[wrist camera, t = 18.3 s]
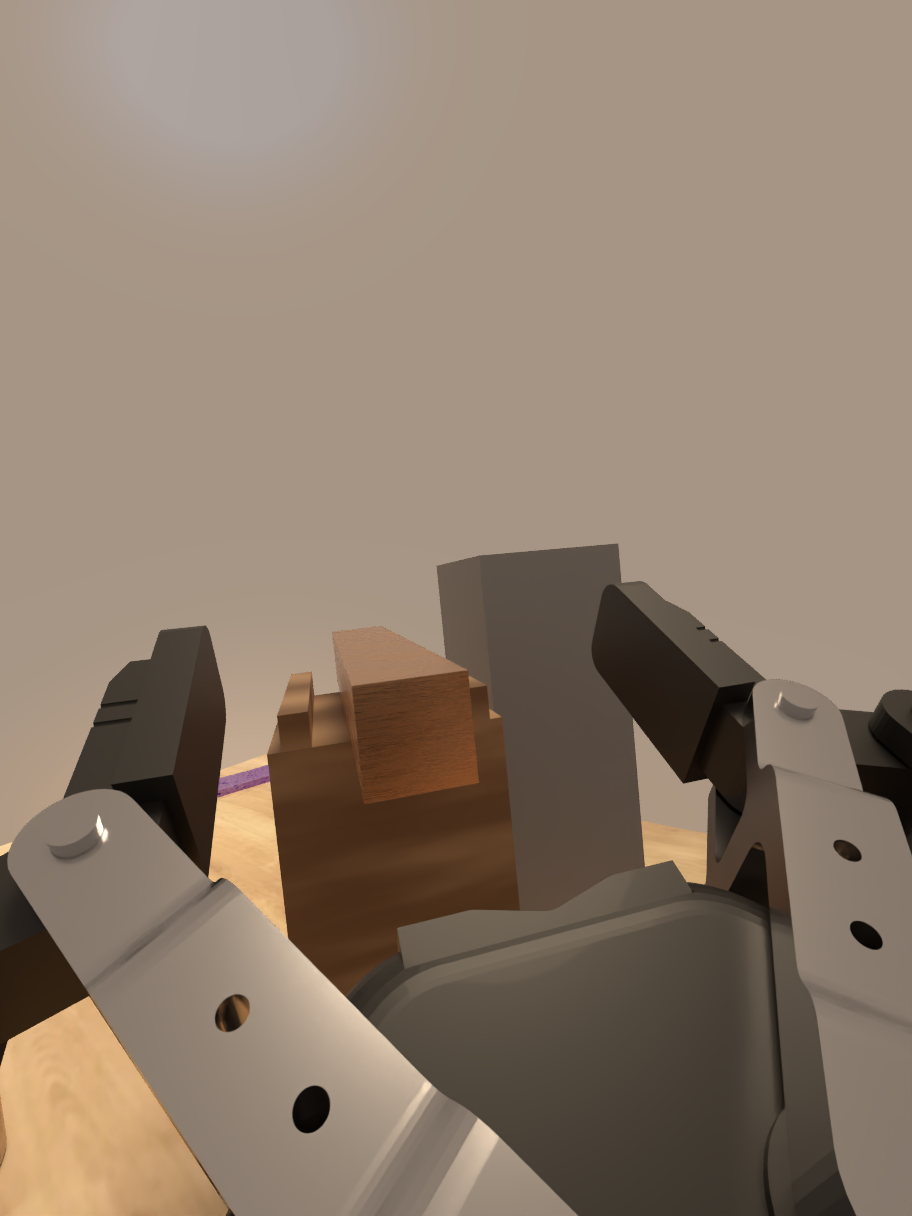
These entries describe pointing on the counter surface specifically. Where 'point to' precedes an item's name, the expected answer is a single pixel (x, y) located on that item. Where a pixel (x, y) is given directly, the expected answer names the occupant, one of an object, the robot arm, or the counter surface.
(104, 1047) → the counter surface
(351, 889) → the wood grain block
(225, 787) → the sponges
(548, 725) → the stand
